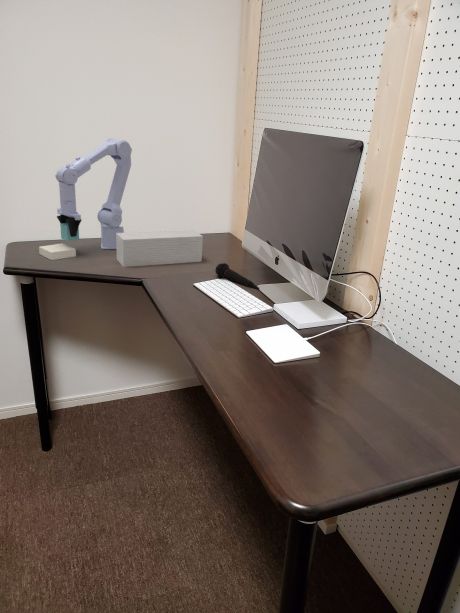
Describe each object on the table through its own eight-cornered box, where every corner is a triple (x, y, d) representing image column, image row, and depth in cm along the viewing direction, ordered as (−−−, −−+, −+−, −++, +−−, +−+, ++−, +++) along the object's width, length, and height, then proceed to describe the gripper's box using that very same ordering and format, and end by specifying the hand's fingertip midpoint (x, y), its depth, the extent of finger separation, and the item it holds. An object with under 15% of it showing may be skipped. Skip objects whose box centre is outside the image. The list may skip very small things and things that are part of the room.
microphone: (259, 296, 163) (219, 275, 174) (266, 281, 162) (224, 261, 172) (251, 295, 158) (210, 274, 169) (257, 280, 157) (215, 259, 168)
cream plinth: (63, 250, 188) (62, 243, 187) (75, 256, 182) (75, 248, 180) (39, 254, 181) (38, 246, 180) (51, 260, 175) (51, 252, 174)
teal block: (72, 236, 186) (72, 222, 184) (79, 239, 183) (78, 224, 181) (61, 238, 183) (60, 223, 181) (67, 241, 180) (66, 225, 177)
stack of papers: (191, 255, 196) (192, 230, 192) (201, 262, 187) (202, 236, 183) (116, 259, 182) (116, 233, 178) (123, 267, 173) (123, 239, 169)
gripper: (49, 197, 179) (51, 232, 184) (67, 204, 170) (70, 240, 175) (65, 196, 184) (67, 230, 189) (85, 202, 175) (86, 237, 180)
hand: (70, 234), depth 182 cm, fingers closed on teal block, 5 cm apart
